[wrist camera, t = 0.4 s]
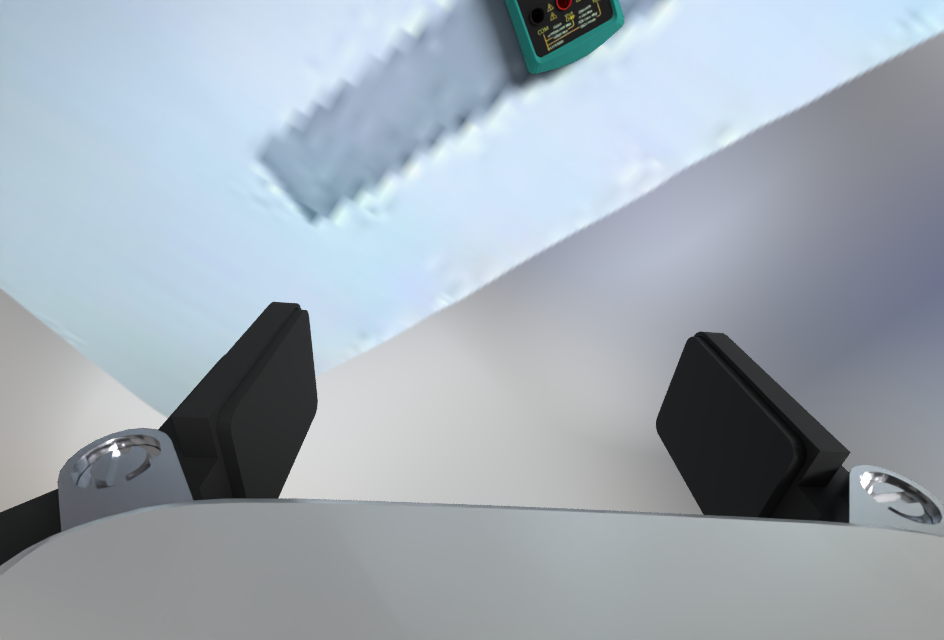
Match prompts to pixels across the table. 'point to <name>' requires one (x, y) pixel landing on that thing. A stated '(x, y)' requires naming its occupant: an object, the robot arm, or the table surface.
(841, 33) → the table surface
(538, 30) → the digital multimeter
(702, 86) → the table surface
